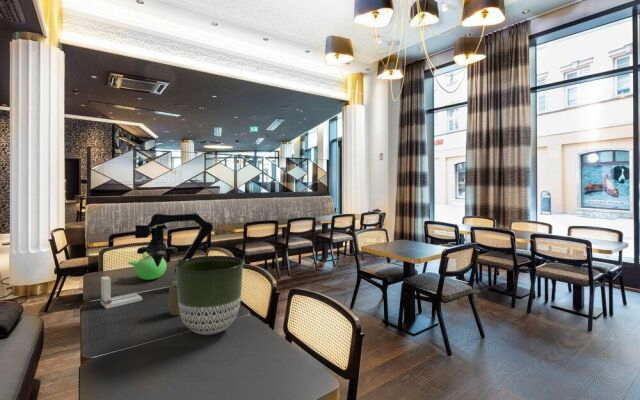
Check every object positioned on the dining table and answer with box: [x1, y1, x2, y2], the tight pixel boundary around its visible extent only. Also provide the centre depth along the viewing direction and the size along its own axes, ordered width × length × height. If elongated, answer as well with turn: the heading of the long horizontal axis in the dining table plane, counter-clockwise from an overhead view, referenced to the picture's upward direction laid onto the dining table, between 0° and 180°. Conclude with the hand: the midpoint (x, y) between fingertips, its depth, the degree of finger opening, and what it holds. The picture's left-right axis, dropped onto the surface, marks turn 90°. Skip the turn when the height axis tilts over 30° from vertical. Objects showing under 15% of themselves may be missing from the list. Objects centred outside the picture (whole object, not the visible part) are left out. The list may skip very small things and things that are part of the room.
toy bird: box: [127, 252, 168, 281], centre depth 191 cm, size 18×17×15 cm
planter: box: [175, 255, 244, 336], centre depth 125 cm, size 24×24×27 cm
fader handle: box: [100, 275, 112, 304], centre depth 149 cm, size 3×6×11 cm, turn 47°
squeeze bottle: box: [167, 274, 180, 316], centre depth 142 cm, size 8×8×18 cm
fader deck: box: [100, 292, 143, 310], centre depth 154 cm, size 15×9×2 cm, turn 138°
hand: (157, 266), depth 170 cm, fingers closed
